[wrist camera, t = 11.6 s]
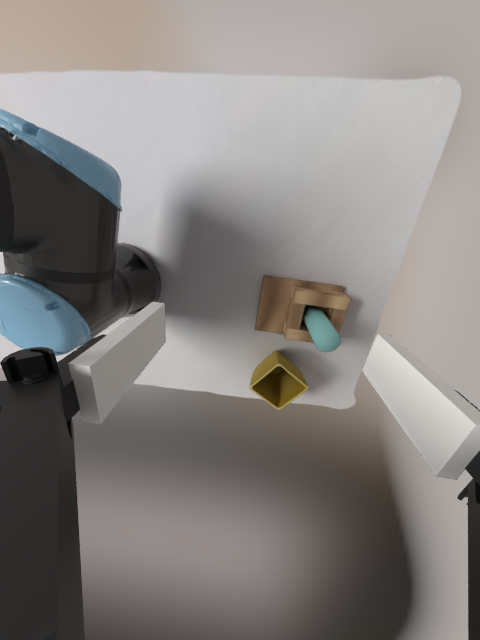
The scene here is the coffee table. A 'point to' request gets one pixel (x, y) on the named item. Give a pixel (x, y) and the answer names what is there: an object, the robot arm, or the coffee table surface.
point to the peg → (321, 329)
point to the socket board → (280, 301)
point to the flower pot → (278, 381)
